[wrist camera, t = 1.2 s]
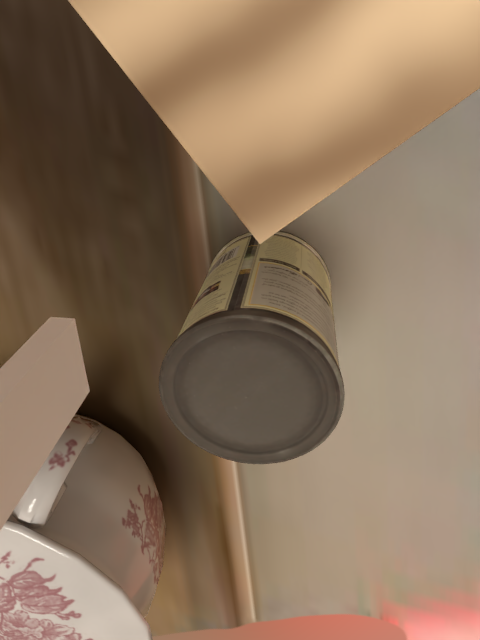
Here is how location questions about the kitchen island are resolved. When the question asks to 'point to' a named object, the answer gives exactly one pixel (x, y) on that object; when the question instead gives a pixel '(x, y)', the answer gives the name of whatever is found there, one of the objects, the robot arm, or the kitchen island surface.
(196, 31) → the oak slab
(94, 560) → the chamber pot
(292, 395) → the coffee can
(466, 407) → the kitchen island surface
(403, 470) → the kitchen island surface
